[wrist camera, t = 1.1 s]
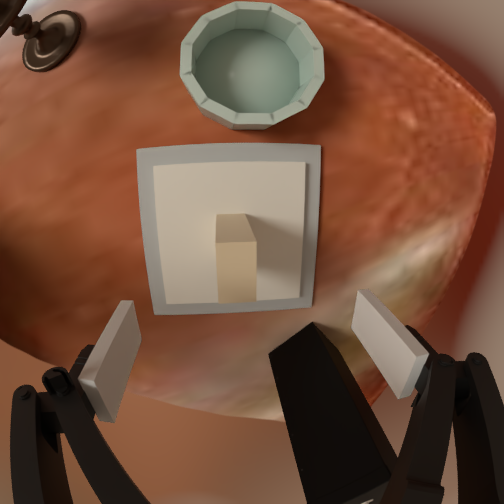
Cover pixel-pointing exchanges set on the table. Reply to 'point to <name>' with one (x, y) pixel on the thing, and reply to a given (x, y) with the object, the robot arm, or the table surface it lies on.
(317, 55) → the bowl
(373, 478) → the black block
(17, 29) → the candlestick
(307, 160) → the mat
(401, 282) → the table surface
